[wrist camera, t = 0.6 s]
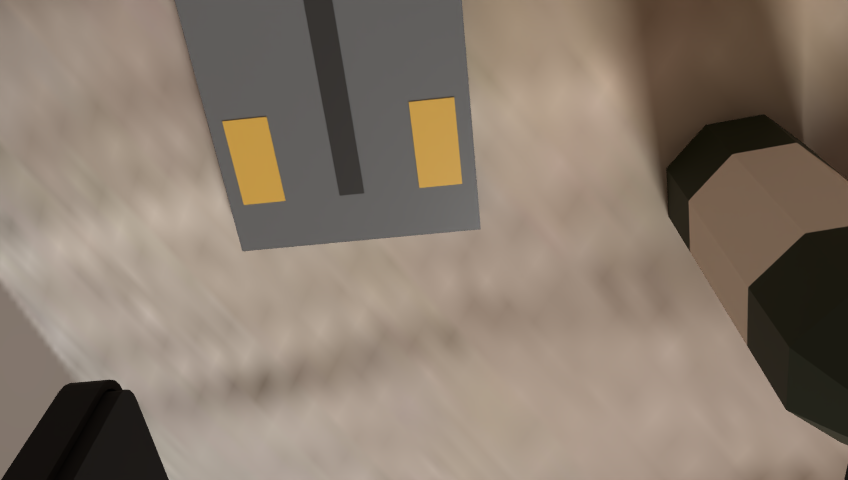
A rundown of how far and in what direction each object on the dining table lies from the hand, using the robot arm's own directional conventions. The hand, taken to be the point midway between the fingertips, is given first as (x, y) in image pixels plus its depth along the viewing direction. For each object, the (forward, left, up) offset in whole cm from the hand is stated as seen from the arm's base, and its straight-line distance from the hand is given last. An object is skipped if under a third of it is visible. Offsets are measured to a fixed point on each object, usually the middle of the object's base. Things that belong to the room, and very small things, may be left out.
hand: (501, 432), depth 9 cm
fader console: (+1, -6, -32) cm, 33 cm away
